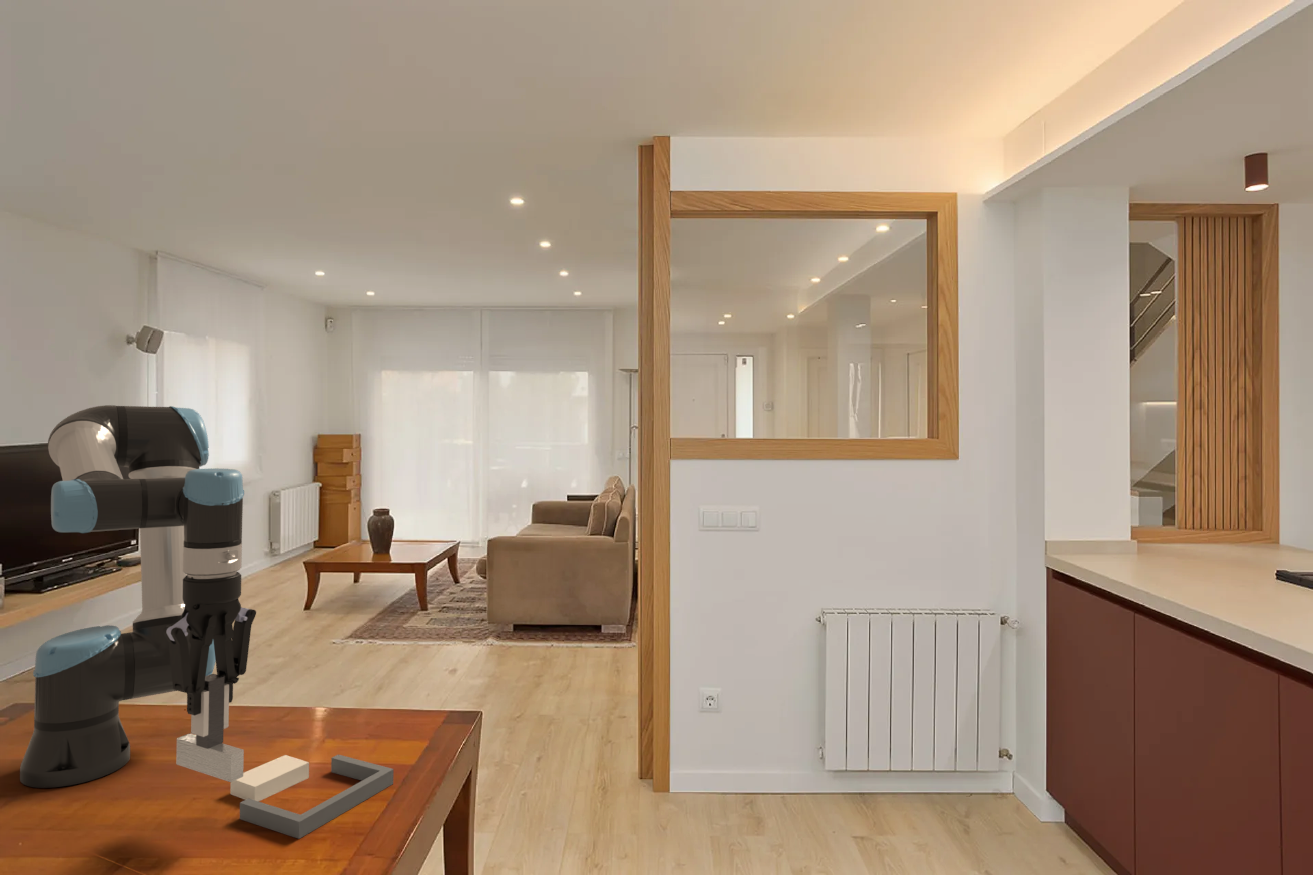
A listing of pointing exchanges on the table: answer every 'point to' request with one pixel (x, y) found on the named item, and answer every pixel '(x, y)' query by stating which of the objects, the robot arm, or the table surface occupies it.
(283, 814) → the frame
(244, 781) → the cream tile
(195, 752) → the grey inverted t block
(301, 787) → the table surface
